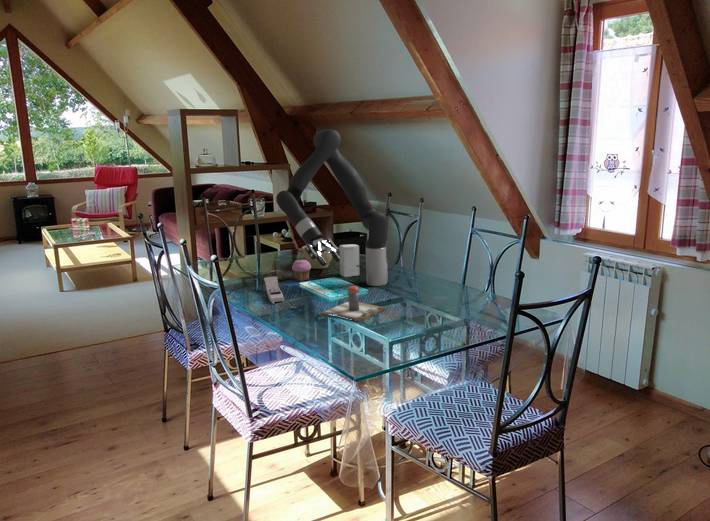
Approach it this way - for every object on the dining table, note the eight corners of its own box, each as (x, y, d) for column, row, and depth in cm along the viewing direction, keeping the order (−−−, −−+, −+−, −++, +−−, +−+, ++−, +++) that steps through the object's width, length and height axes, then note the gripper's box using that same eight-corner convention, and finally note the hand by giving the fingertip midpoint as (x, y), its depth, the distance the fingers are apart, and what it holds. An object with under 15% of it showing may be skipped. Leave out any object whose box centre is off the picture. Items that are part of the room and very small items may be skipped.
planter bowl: (340, 265, 307) (339, 244, 305) (322, 272, 294) (321, 250, 291) (315, 262, 316) (314, 242, 313) (297, 268, 302) (295, 248, 300)
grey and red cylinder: (353, 307, 234) (351, 285, 232) (361, 308, 232) (360, 286, 229) (347, 310, 231) (345, 288, 229) (355, 311, 228) (354, 289, 226)
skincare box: (344, 277, 282) (343, 247, 279) (339, 274, 288) (338, 244, 284) (360, 275, 286) (359, 245, 282) (355, 272, 291) (354, 243, 288)
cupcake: (300, 283, 274) (298, 262, 272) (289, 280, 281) (288, 259, 278) (315, 279, 280) (314, 259, 278) (304, 276, 286) (303, 256, 284)
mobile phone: (276, 275, 267) (284, 290, 244) (277, 288, 269) (285, 303, 245) (263, 277, 266) (269, 291, 242) (264, 290, 267) (270, 305, 244)
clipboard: (350, 302, 244) (350, 297, 243) (386, 309, 233) (386, 304, 233) (322, 314, 230) (322, 309, 229) (359, 322, 219) (359, 317, 219)
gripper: (301, 228, 230) (325, 260, 226) (324, 223, 241) (348, 253, 237) (292, 240, 234) (315, 272, 230) (315, 234, 245) (338, 264, 241)
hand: (332, 262), depth 233 cm, fingers open, 8 cm apart
